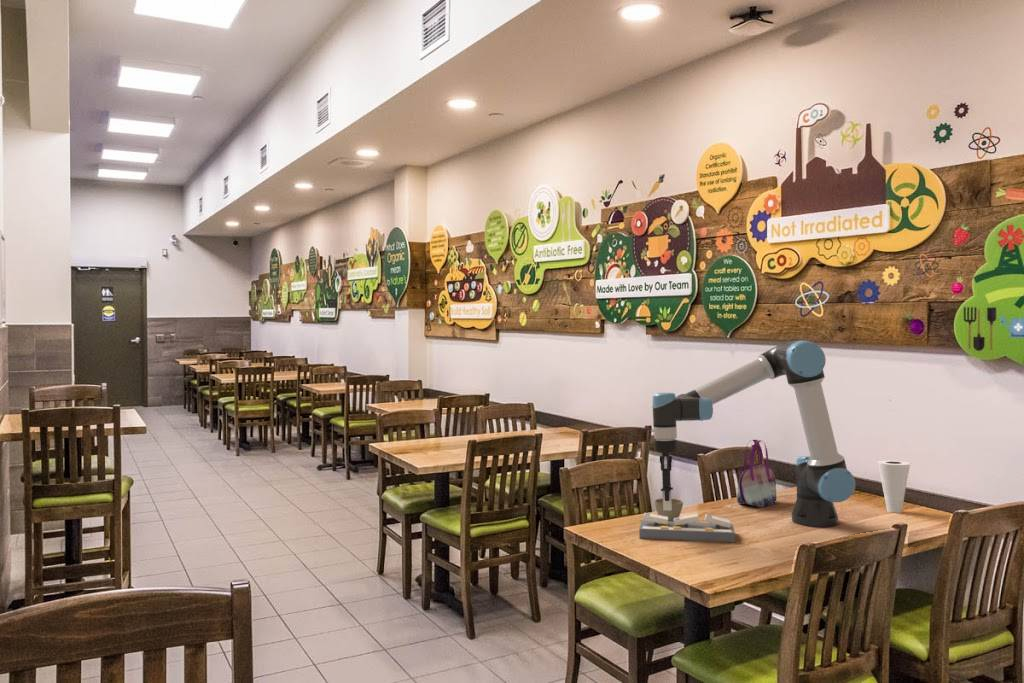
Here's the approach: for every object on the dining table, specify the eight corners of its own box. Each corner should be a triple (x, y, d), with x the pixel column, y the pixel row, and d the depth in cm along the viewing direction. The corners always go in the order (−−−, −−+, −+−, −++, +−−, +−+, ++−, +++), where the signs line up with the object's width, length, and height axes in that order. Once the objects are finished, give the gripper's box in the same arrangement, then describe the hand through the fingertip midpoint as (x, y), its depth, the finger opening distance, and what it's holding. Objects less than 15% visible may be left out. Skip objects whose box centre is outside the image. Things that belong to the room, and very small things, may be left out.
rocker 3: (729, 524, 246) (730, 519, 246) (729, 527, 242) (730, 522, 242) (704, 518, 248) (705, 513, 248) (704, 521, 244) (706, 516, 244)
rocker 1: (667, 521, 251) (668, 516, 251) (667, 524, 247) (667, 519, 247) (643, 517, 252) (644, 512, 252) (642, 520, 249) (643, 514, 249)
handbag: (750, 510, 281) (749, 443, 281) (728, 505, 289) (727, 441, 289) (784, 502, 293) (783, 438, 293) (763, 498, 301) (762, 436, 301)
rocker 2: (698, 518, 248) (697, 513, 249) (699, 521, 245) (697, 515, 245) (674, 522, 250) (673, 517, 250) (674, 525, 246) (673, 520, 246)
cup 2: (916, 511, 274) (915, 463, 274) (901, 516, 268) (900, 466, 268) (888, 506, 283) (887, 459, 283) (872, 510, 277) (871, 462, 277)
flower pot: (683, 525, 260) (683, 504, 260) (654, 524, 262) (654, 503, 262) (682, 518, 270) (682, 498, 270) (654, 517, 272) (654, 497, 272)
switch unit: (732, 532, 249) (732, 521, 249) (735, 542, 237) (734, 530, 237) (641, 529, 256) (641, 518, 256) (639, 538, 244) (639, 526, 244)
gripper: (654, 436, 256) (656, 505, 256) (653, 442, 243) (655, 514, 243) (676, 436, 254) (679, 505, 254) (676, 441, 242) (678, 514, 242)
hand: (667, 509), depth 249 cm, fingers closed
